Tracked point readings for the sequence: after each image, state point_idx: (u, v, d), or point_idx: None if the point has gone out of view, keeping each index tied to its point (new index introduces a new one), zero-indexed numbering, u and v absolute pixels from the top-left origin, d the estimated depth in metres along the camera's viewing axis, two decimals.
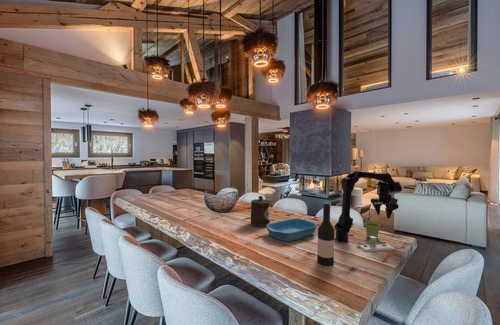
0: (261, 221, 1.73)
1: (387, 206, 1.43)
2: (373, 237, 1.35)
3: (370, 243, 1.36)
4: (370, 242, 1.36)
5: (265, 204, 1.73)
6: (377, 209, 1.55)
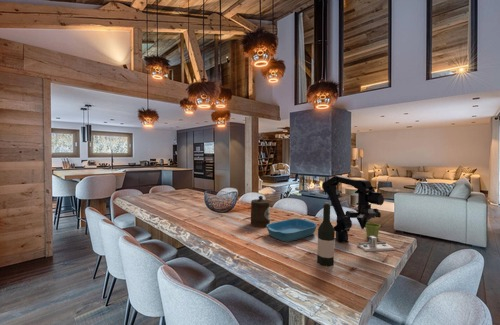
0: (261, 221, 1.73)
1: None
2: (373, 237, 1.35)
3: (370, 243, 1.36)
4: (370, 242, 1.36)
5: (265, 204, 1.73)
6: None
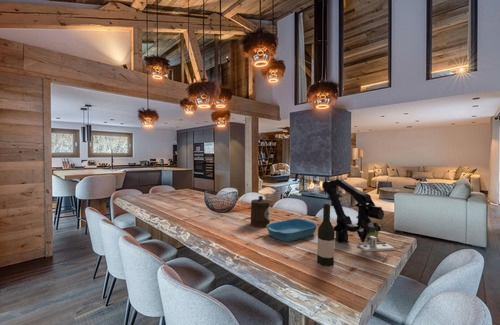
0: (261, 221, 1.73)
1: None
2: (373, 237, 1.35)
3: (370, 243, 1.36)
4: (370, 242, 1.36)
5: (265, 204, 1.73)
6: None
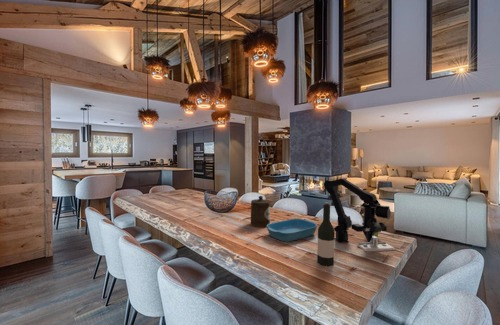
0: (261, 221, 1.73)
1: None
2: (374, 237, 1.35)
3: (371, 243, 1.36)
4: (371, 242, 1.36)
5: (265, 204, 1.73)
6: None
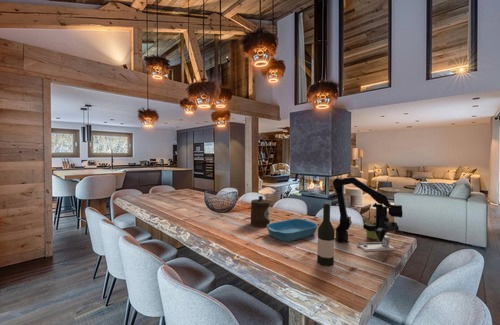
0: (261, 221, 1.73)
1: None
2: (386, 237, 1.36)
3: (383, 242, 1.37)
4: (383, 241, 1.37)
5: (265, 204, 1.73)
6: None
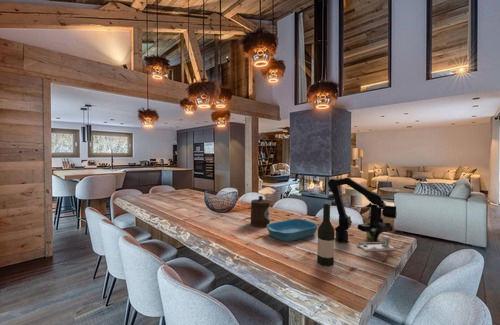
0: (261, 221, 1.73)
1: None
2: (386, 237, 1.36)
3: (383, 242, 1.37)
4: (383, 241, 1.37)
5: (265, 204, 1.73)
6: None
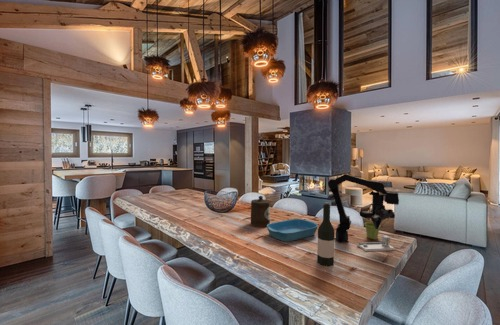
0: (261, 221, 1.73)
1: None
2: (386, 237, 1.36)
3: (383, 242, 1.37)
4: (383, 241, 1.37)
5: (265, 204, 1.73)
6: None
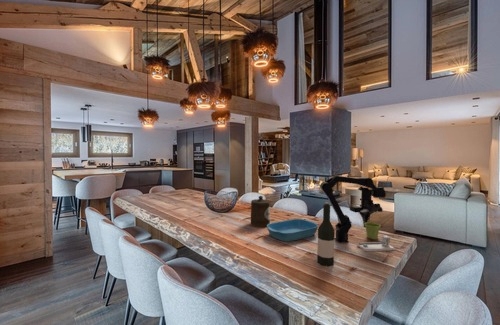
0: (261, 221, 1.73)
1: None
2: (386, 237, 1.36)
3: (383, 242, 1.37)
4: (383, 241, 1.37)
5: (265, 204, 1.73)
6: None
